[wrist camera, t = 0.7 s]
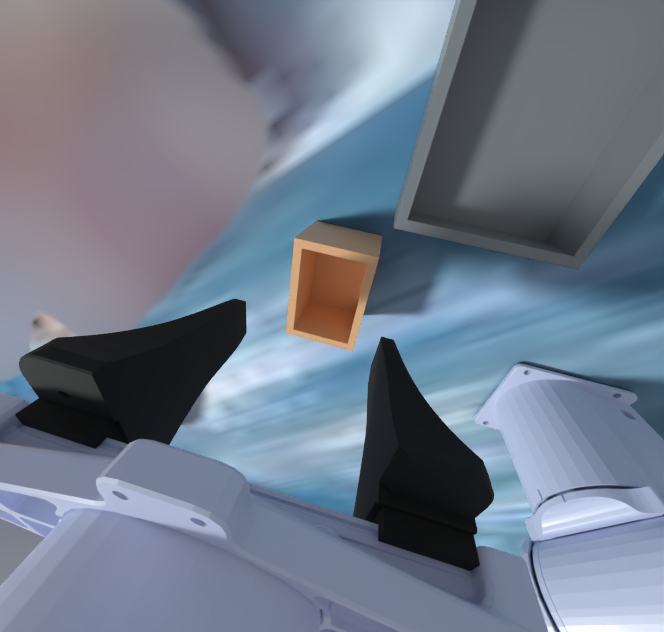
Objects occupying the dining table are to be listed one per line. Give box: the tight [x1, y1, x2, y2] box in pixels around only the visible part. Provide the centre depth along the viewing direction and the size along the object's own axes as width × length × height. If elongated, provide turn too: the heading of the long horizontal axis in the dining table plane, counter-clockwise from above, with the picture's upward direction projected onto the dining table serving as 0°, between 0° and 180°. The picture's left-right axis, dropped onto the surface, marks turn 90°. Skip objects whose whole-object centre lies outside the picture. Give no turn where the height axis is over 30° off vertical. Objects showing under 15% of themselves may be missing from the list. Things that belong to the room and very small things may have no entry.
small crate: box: [286, 221, 383, 351], centre depth 19 cm, size 5×7×5 cm
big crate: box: [394, 0, 664, 269], centre depth 13 cm, size 10×12×4 cm
